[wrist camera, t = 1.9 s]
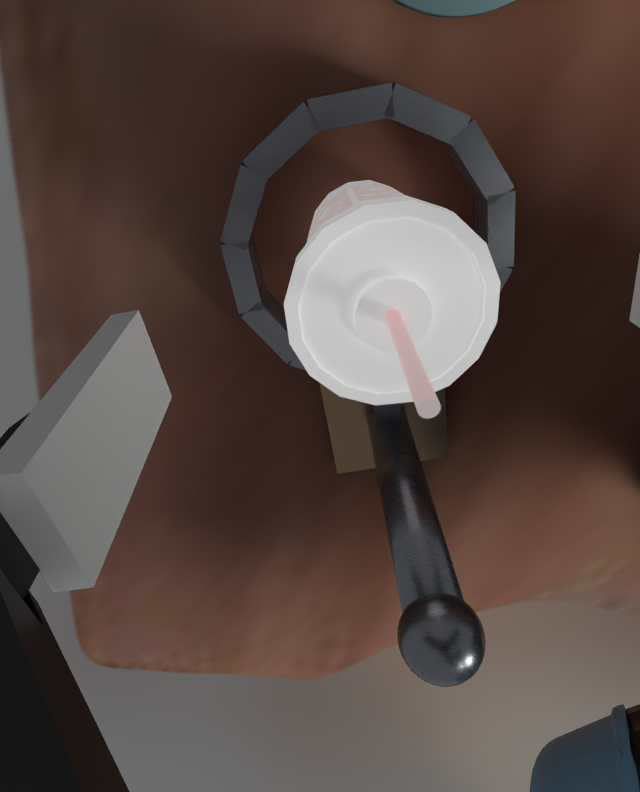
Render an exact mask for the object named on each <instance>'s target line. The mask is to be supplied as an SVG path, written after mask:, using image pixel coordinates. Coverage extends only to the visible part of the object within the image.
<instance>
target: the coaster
mask: <svg viewBox="0 0 640 792" xmlns="http://www.w3.org/2000/svg"><path fill="white" fill-rule="evenodd" d="M394 1H395V2H397V3H399V4H401V5H402V6H404V7H406V8H409V9H412V10H414V11H417V12H420V13H423V14H428V15H433V16H438V17H464V16H472V15H478V14H481V13H485V12H488V11H491V10H495V9H497V8H499V7H501V6H504V5H506V4H508V3H510V2H513V1H515V0H394Z"/></svg>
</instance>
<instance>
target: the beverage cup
mask: <svg viewBox="0 0 640 792" xmlns="http://www.w3.org/2000/svg"><path fill="white" fill-rule="evenodd" d="M500 283H501V282H500V279H499V276H498V273H497V271H496V268H495V265H494V263H493V260H492V257H491V254H490V252H489V249H488V246H487V243H486V242H485V241H484V240H482V239H481V238H480V237H479V236H478V235H477V234H476V233H475V232H474V231H473V230H472V229H471V228H470V227H469V226H468V225H467V224H466V223H465V222H464V221H463V220H462V219H460V218H459V217H458V216H457V215H456V214H455V213H454V212H453V211H450V210H448V209H447V208H444V207H441V206H437V205H434V204H431V203H428V202H425V201H422V200H419V199H416V198H413V197H409V196H405V195H404V194H402V193H400V192H399V191H397V190H395V189H394V188H392V187H390V186H387V185H384V184H381V183H378V182H375V181H372V180H364V181H356V182H348V183H346V184H344V185H342V186H341V187H339V188H337V189H336V190H334V191H332V192H330V193H329V194H328V195H327V196H326V198H325V199H324V200H323V201H322V203H321V204H320V205H319V207H318V208H317V209H316V211H315V213H314V217H313V220H312V224H311V228H310V231H309V235H308V239H307V244H306V245H305V246H304V248H303V249H302V250H301V251H300V253H299V254H298V255H297V257H296V260H295V264H294V267H293V271H292V275H291V278H290V282H289V286H288V289H287V293H286V297H285V300H284V310H285V317H286V323H287V330H288V337H289V344H290V345H291V347H292V349H293V350H294V352H295V353H296V355H297V357H298V358H299V360H300V361H301V363H302V364H303V366H304V368H305V369H306V371H307V372H308V374H309V375H310V376H311V377H312V378H314V379H315V380H317V381H318V382H320V383H321V384H322V385H324V386H325V387H327V388H328V389H330V390H331V391H332V392H334V393H335V394H337V395H338V396H340V397H344V398H348V399H352V400H356V401H360V402H364V403H368V404H372V405H385V404H395V403H405V402H414V404H415V406H416V409H417V412H418V414H419V415H420V416H421V417H422V418H426V419H428V418H433V417H435V416H436V415H437V414H439V412H440V410H441V405H440V402H439V400H438V398H437V395H436V393H435V392H436V391H439V390H441V389H443V388H445V387H448V386H450V385H451V384H452V383H453V382H454V381H455V380H456V379H457V378H458V377H459V376H461V375H462V374H463V373H464V372H465V371H466V370H467V369H468V368H469V367H470V366H471V365H472V364H473V363H474V362H475V361H477V360H478V359H479V357H480V355H481V353H482V351H483V349H484V347H485V345H486V343H487V342H488V340H489V338H490V336H491V334H492V332H493V330H494V328H495V326H496V324H497V320H498V307H499V295H500Z"/></svg>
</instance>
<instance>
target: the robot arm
mask: <svg viewBox="0 0 640 792" xmlns="http://www.w3.org/2000/svg"><path fill="white" fill-rule="evenodd" d="M629 321H631V322H632V323H634V324H635V325H636V326H638V327H639V328H640V255H639V262H638V268H637V274H636V281H635V287H634V293H633V299H632V306H631V312H630V318H629ZM171 398H172V395H171V393H170V390H169V387H168V385H167V382H166V380H165V377H164V374H163V372H162V369H161V367H160V364H159V361H158V359H157V356H156V354H155V351H154V348H153V346H152V343H151V341H150V338H149V335H148V333H147V330H146V328H145V325H144V322H143V320H142V317H141V315H140V312H139V310H136V311H130V312H125V313H119V314H113V315H111V316H110V317H109V318H108V319H107V320H106V322H105V323H104V324H103V325H102V327H101V328H100V329H99V330H98V331H97V333H96V334H95V335H94V336H93V337H92V339H91V340H90V341H89V342H88V344H87V345H86V346H85V347H84V348H83V350H82V351H81V352H80V353H79V354H78V356H77V357H76V358H75V359H74V361H73V362H72V363H71V364H70V365H69V367H68V368H67V369H66V370H65V371H64V373H63V374H62V375H61V376H60V378H59V379H58V380H57V381H56V382H55V384H54V385H53V386H52V387H51V388H50V390H49V391H48V392H47V393H46V395H45V396H44V397H43V398H42V399H41V401H40V402H39V403H38V404H37V405H36V407H35V408H34V409H33V410H32V412H31V413H29V414H27V415H26V416H25V417H23V418H22V419H21V420H19V421H18V422H17V423H15V424H14V425H13V426H11V427H10V428H9V429H8V430H7V431H6V432H5V433H4V435H3V436H2V437H1V438H0V792H129V790H128V788H127V786H126V784H125V782H124V780H123V778H122V776H121V773H120V772H119V769H118V767H117V765H116V763H115V761H114V759H113V757H112V755H111V753H110V751H109V749H108V747H107V745H106V743H105V741H104V738H103V736H102V734H101V732H100V730H99V728H98V726H97V724H96V722H95V720H94V718H93V716H92V714H91V712H90V710H89V707H88V705H87V703H86V701H85V699H84V697H83V695H82V693H81V691H80V689H79V687H78V685H77V683H76V681H75V679H74V677H73V674H72V672H71V670H70V668H69V666H68V664H67V662H66V660H65V658H64V656H63V654H62V652H61V650H60V648H59V646H58V643H57V641H56V640H55V637H54V635H53V633H52V631H51V629H50V627H49V625H48V623H47V621H46V619H45V617H44V615H43V613H42V610H41V608H40V606H39V604H38V602H37V601H36V600H35V598H34V597H33V596H32V594H31V593H30V591H29V589H30V587H31V585H32V583H33V581H34V580H35V578H36V576H37V574H38V572H39V573H40V574H41V576H42V577H43V578H44V580H45V581H46V583H47V584H48V586H49V587H50V588H51V590H52V591H53V593H57V592H64V591H71V590H78V589H85V588H92V587H94V585H95V583H96V580H97V578H98V575H99V573H100V571H101V568H102V566H103V563H104V561H105V559H106V556H107V554H108V551H109V549H110V546H111V544H112V542H113V539H114V537H115V534H116V532H117V529H118V527H119V525H120V522H121V520H122V517H123V515H124V512H125V510H126V508H127V505H128V503H129V500H130V498H131V495H132V493H133V491H134V488H135V486H136V483H137V481H138V478H139V476H140V474H141V471H142V469H143V466H144V464H145V461H146V459H147V457H148V454H149V452H150V449H151V447H152V444H153V442H154V440H155V437H156V435H157V432H158V430H159V427H160V425H161V423H162V420H163V418H164V415H165V413H166V410H167V408H168V406H169V403H170V401H171ZM530 792H640V705H636V706H634V707H631V708H628V709H625V707H624V705H619V706H616V707H614V708H613V709H612V713H611V715H609V716H607V717H605V718H602V719H600V720H597V721H595V722H593V723H590V724H588V725H586V726H583V727H581V728H578V729H576V730H574V731H572V732H569V733H567V734H564V735H562V736H559V737H557V738H555V739H554V740H552V741H551V742H549V743H548V744H547V745H546V746H545V747H544V748H543V749H542V750H541V752H540V753H539V755H538V757H537V759H536V762H535V764H534V767H533V771H532V776H531V783H530Z"/></svg>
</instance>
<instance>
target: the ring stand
mask: <svg viewBox="0 0 640 792" xmlns="http://www.w3.org/2000/svg"><path fill="white" fill-rule="evenodd" d="M307 101H308V106H307V105H306V103H305V102H304V101H303V102H302V103H301V104H300V105H299V106H298V107H297V108H296V109H295V110H294V111H293V112H292V113H290V114H289V115H288V116H287V117H286V118H285V119H284V120H283V121H282V122H281V123H280V124H279V125H278V126H277V127H276V128H275V129H274V130H273V131H272V132H271V133H270V134H269V135H268V136H267V137H266V138H265V139H264V140H263V141H262V142H261V143H260V144H259V145H258V146H257V147H256V148H255V149H254V150H253V151H252V152H251V153H250V154H249V155H248V156H247V157H246V158H245V159H244V160H243V162H242V163H241V165H240V168H239V172H238V175H237V179H236V183H235V187H234V191H233V194H232V198H231V202H230V206H229V210H228V213H227V217H226V221H225V225H224V228H223V232H222V236H221V240H220V241H221V242H222V243H221V245H220V246H221V250H222V254H223V257H224V261H225V265H226V268H227V272H228V276H229V280H230V283H231V287H232V291H233V294H234V298H235V302H236V305H237V309H238V313H239V314H241V318H242V319H243V320H244V321H245V322H246V323H247V324H248V325H249V326H250V327H251V328H252V329H253V330H254V331H255V332H256V333H257V334H258V335H259V336H260V337H261V338H262V339H263V340H264V341H265V342H266V343H267V344H268V345H269V346H270V347H271V348H272V349H273V350H274V351H275V352H276V353H277V354H278V356H279V357H280V358H281V359H282V360H283V361H284V362H285V363H286V364H287V363H288V362H290V364H289V365H290V366H293V367H296V368H299V369H302V370H306V369H305V368H304V366H303V364H302V363H301V361H300V360H299V358H298V357H297V355H296V353H295V352H294V350H293V349H292V347H291V345H290V344H289V337H288V330H287V323H286V317H285V310H284V308H283V307H282V306H281V305H280V304H279V303H278V302H277V301H276V300H275V299H274V298H273V297H272V295H271V294H270V293H269V292H268V291H267V290H266V289H265V285H264V281H263V277H262V273H261V268H260V264H259V260H258V256H257V251H256V247H255V243H254V239H253V234H252V232H253V228H254V225H255V221H256V218H257V215H258V211H259V208H260V204H261V201H262V198H263V194H264V191H265V187H266V184H267V180H268V179H269V178H270V177H271V176H272V175H273V174H274V173H275V172H276V171H277V170H278V169H279V168H280V167H281V166H283V165H284V164H285V163H286V162H287V161H288V160H289V159H290V158H291V157H292V156H293V155H294V154H295V153H296V152H297V151H298V150H300V149H301V148H302V147H303V146H304V145H305V144H306V143H307V142H308V141H309V140H310V139H311V138H312V137H313V136H314V135H315V134H317V133H318V132H320V131H325V130H330V129H335V128H340V127H345V126H350V125H355V124H361V123H366V122H371V121H376V120H381V119H386V118H388V119H390V120H393V121H395V122H397V123H400V124H402V125H404V126H407V127H409V128H411V129H414V130H416V131H418V132H421V133H423V134H425V135H428V136H430V137H432V138H435V139H437V140H439V141H440V142H441V144H442V145H443V147H444V149H445V150H446V152H447V153H448V155H449V156H450V158H451V160H452V161H453V163H454V164H455V166H456V167H457V169H458V171H459V172H460V174H461V175H462V177H463V178H464V180H465V182H466V183H467V185H468V186H469V188H470V189H471V191H472V199H473V231H474V232H475V233H476V234H477V235H478V236H479V237H480V238H481V239H482V240H484V241H485V242H486V243H487V246H488V249H489V252H490V254H491V257H492V260H493V263H494V265H495V268H496V271H497V273H498V276H499V279H500V282H501V283H500V292H501V290H502V288H503V286H504V284H505V283H506V281H507V279H508V277H509V276H510V274H511V272H512V269H511V268H510V267H512V266H514V237H515V195H516V191H515V190H513V188H514V185H513V183H512V182H511V180H510V178H509V177H508V175H507V173H506V172H505V170H504V168H503V167H502V165H501V163H500V161H499V160H498V158H497V156H496V155H495V153H494V151H493V150H492V148H491V146H490V145H489V143H488V141H487V140H486V138H485V136H484V134H483V133H482V131H481V129H480V128H479V126H478V124H477V123H476V121H475V119H471V116H469V115H467V114H465V113H462V112H460V111H458V110H456V109H454V108H451V107H449V106H447V105H445V104H442V103H440V102H438V101H436V100H433V99H431V98H429V97H427V96H424V95H422V94H420V93H418V92H415V91H413V90H411V89H409V88H406V87H404V86H402V85H400V84H397V83H392V82H391V83H383V84H378V85H373V86H368V87H363V88H358V89H353V90H348V91H343V92H338V93H333V94H328V95H323V96H318V97H313V98H308V99H307ZM319 384H320V389H321V394H322V399H323V404H324V409H325V414H326V419H327V424H328V429H329V434H330V439H331V444H332V449H333V454H334V459H335V464H336V469H337V474H340V473H347V472H354V471H360V470H367V469H374V468H376V473H377V478H378V483H379V489H380V494H381V500H382V505H383V510H384V516H385V521H386V526H387V532H388V537H389V543H390V548H391V553H392V559H393V564H394V570H395V575H396V580H397V586H398V591H399V596H400V602H401V607H402V615H401V618H400V621H399V625H398V634H397V635H398V644H399V649H400V652H401V654H402V657H403V659H404V661H405V662H406V664H407V665H408V667H409V668H410V669H411V671H412V672H413V673H414V674H415V675H417V676H418V677H419V678H421V679H422V680H424V681H426V682H428V683H430V684H432V685H436V686H441V687H450V686H456V685H459V684H462V683H464V682H465V681H467V680H468V679H470V678H471V677H472V676H473V675H474V674H475V673H476V672H477V670H478V669H479V667H480V665H481V663H482V661H483V658H484V653H485V645H486V642H485V634H484V630H483V627H482V624H481V622H480V620H479V618H478V616H477V615H476V613H475V612H474V610H473V609H472V608H471V607H470V606H469V605H468V604H467V603H466V602H465V601H464V599H463V596H462V593H461V589H460V586H459V583H458V580H457V577H456V573H455V570H454V567H453V564H452V561H451V557H450V554H449V551H448V548H447V544H446V541H445V538H444V535H443V532H442V528H441V525H440V522H439V519H438V516H437V512H436V509H435V506H434V503H433V499H432V496H431V493H430V490H429V487H428V483H427V480H426V477H425V474H424V471H423V467H422V464H421V461H427V460H434V459H440V458H447V457H449V454H448V436H447V417H446V399H445V388H443V389H441V390H439V391H436V392H435V393H436V395H437V398H438V400H439V402H440V405H441V410H440V412H439V414H437V415H436V416H435V417H433V418H428V419H426V418H422V417H421V416H420V415H419V414H418V412H417V409H416V406H415V404H414V402H405V403H395V404H385V405H372V404H368V403H364V402H360V401H356V400H352V399H348V398H344V397H340V396H338V395H337V394H335V393H334V392H332V391H331V390H330V389H328V388H327V387H325V386H324V385H322V384H321V383H320V382H319Z"/></svg>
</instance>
